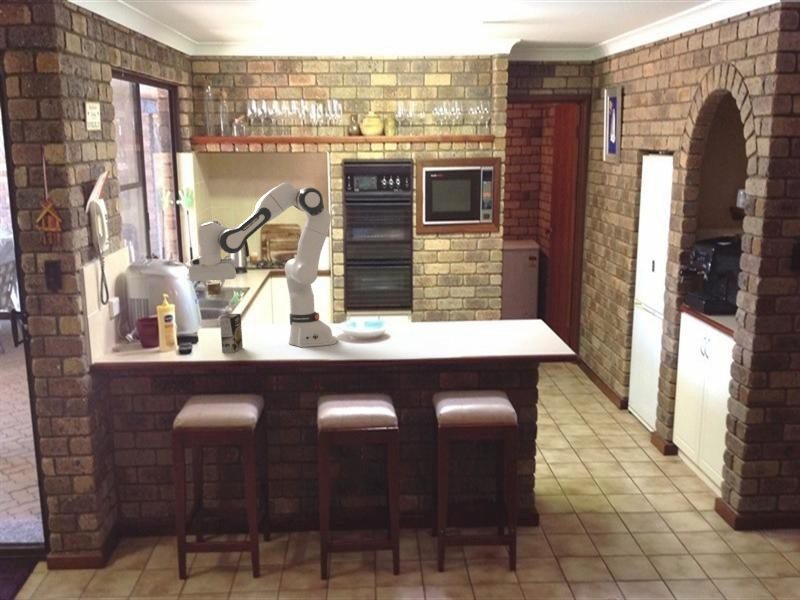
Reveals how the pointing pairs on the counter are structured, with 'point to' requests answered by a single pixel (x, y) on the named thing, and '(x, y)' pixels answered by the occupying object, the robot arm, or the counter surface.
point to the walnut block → (213, 288)
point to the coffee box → (231, 333)
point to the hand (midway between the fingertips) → (214, 290)
